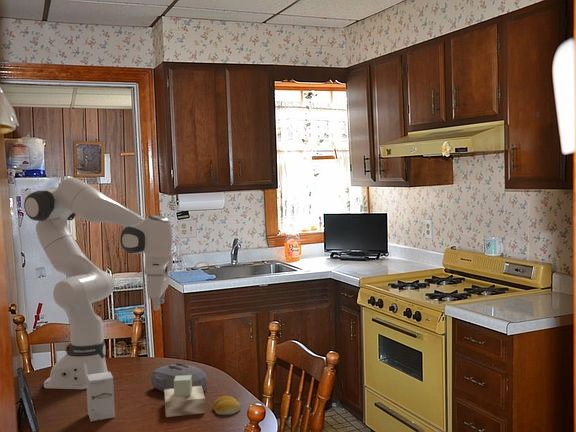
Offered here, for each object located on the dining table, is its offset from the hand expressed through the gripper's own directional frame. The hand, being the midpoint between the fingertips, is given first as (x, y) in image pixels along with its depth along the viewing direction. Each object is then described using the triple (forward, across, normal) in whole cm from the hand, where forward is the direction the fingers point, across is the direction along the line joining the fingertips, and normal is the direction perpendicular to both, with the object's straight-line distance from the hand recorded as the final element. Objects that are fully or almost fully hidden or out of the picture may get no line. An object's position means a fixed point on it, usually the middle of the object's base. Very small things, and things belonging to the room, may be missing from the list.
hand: (158, 306), depth 209 cm
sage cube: (+25, +13, +10) cm, 30 cm away
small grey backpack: (+30, -5, +7) cm, 32 cm away
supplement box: (+31, +17, -15) cm, 38 cm away
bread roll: (+29, +16, +23) cm, 41 cm away
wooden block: (+30, +13, +10) cm, 34 cm away
